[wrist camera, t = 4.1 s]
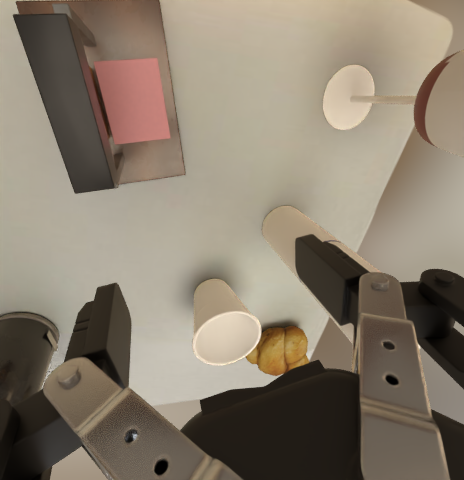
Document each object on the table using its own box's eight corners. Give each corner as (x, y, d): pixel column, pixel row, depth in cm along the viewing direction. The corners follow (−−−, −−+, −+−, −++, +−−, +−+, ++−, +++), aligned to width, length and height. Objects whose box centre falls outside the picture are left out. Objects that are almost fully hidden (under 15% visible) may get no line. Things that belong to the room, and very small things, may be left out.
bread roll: (237, 357, 58) (250, 393, 51) (248, 320, 54) (263, 353, 47) (292, 353, 62) (311, 385, 55) (305, 318, 58) (327, 348, 51)
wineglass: (379, 54, 39) (605, 16, 20) (372, 128, 43) (550, 155, 24) (321, 63, 37) (506, 32, 18) (320, 139, 42) (467, 177, 23)
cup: (178, 315, 49) (186, 368, 40) (187, 266, 45) (199, 311, 36) (232, 315, 52) (251, 363, 43) (245, 269, 48) (270, 311, 39)
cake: (77, 141, 32) (65, 150, 27) (54, 69, 29) (36, 64, 24) (166, 131, 34) (170, 138, 29) (154, 63, 31) (157, 57, 26)
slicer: (81, 186, 36) (54, 228, 25) (21, 5, 27) (-63, -56, 16) (184, 172, 38) (201, 204, 27) (158, 2, 30) (167, -51, 19)
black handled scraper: (99, 164, 28) (77, 201, 18) (63, 39, 23) (7, 0, 13) (125, 161, 28) (116, 195, 19) (94, 38, 23) (62, -1, 14)
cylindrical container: (274, 199, 44) (400, 298, 23) (309, 213, 47) (449, 314, 26) (254, 238, 46) (350, 363, 25) (288, 250, 49) (401, 370, 28)
